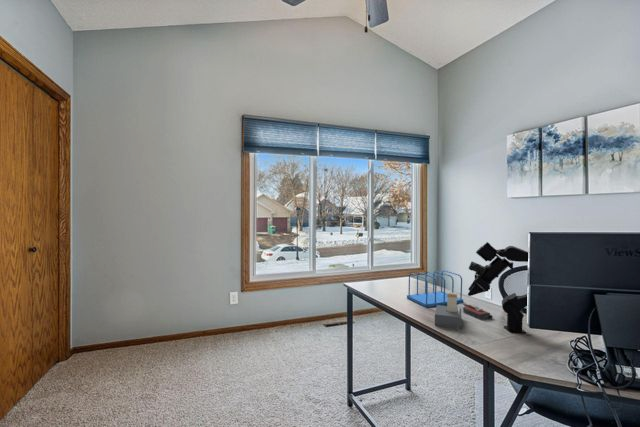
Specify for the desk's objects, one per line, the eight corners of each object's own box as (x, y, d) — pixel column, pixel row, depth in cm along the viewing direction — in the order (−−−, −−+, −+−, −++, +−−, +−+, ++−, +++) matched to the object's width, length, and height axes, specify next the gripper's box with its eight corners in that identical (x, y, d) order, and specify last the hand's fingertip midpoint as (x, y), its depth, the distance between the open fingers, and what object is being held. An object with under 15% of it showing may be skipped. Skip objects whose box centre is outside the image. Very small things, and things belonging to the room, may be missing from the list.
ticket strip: (456, 321, 149) (456, 293, 149) (456, 322, 148) (456, 293, 147) (447, 320, 151) (447, 292, 150) (447, 321, 150) (447, 292, 149)
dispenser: (461, 318, 154) (461, 306, 154) (461, 328, 141) (461, 315, 141) (436, 315, 159) (436, 303, 158) (434, 325, 146) (434, 312, 145)
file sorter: (426, 307, 170) (426, 278, 169) (406, 298, 186) (406, 272, 186) (463, 302, 178) (464, 275, 178) (441, 294, 195) (442, 268, 194)
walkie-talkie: (496, 319, 154) (465, 306, 173) (496, 310, 154) (465, 298, 173) (481, 321, 151) (451, 308, 170) (481, 312, 151) (451, 299, 170)
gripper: (479, 252, 153) (455, 275, 158) (479, 259, 136) (452, 284, 141) (499, 269, 149) (474, 292, 154) (502, 278, 133) (473, 303, 138)
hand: (468, 292), depth 147 cm, fingers open, 9 cm apart
